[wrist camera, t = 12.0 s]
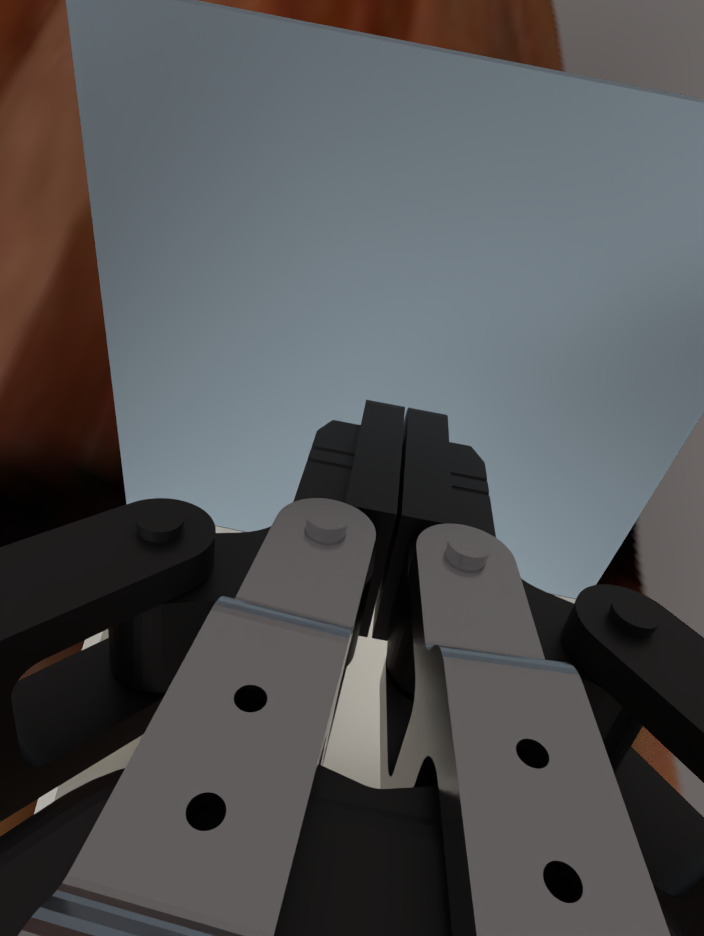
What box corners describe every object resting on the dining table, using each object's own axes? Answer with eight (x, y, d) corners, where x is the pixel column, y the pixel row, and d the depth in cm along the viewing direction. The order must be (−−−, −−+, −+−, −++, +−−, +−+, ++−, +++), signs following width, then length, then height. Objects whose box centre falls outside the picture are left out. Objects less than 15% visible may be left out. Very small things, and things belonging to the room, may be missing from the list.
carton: (465, 953, 34) (536, 1115, 23) (96, 876, 35) (-20, 997, 23) (510, 611, 39) (588, 601, 27) (183, 545, 39) (123, 507, 28)
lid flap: (875, 136, 15) (864, 129, 16) (63, -22, 16) (75, -23, 16) (586, 600, 27) (584, 589, 28) (127, 507, 27) (132, 497, 28)
